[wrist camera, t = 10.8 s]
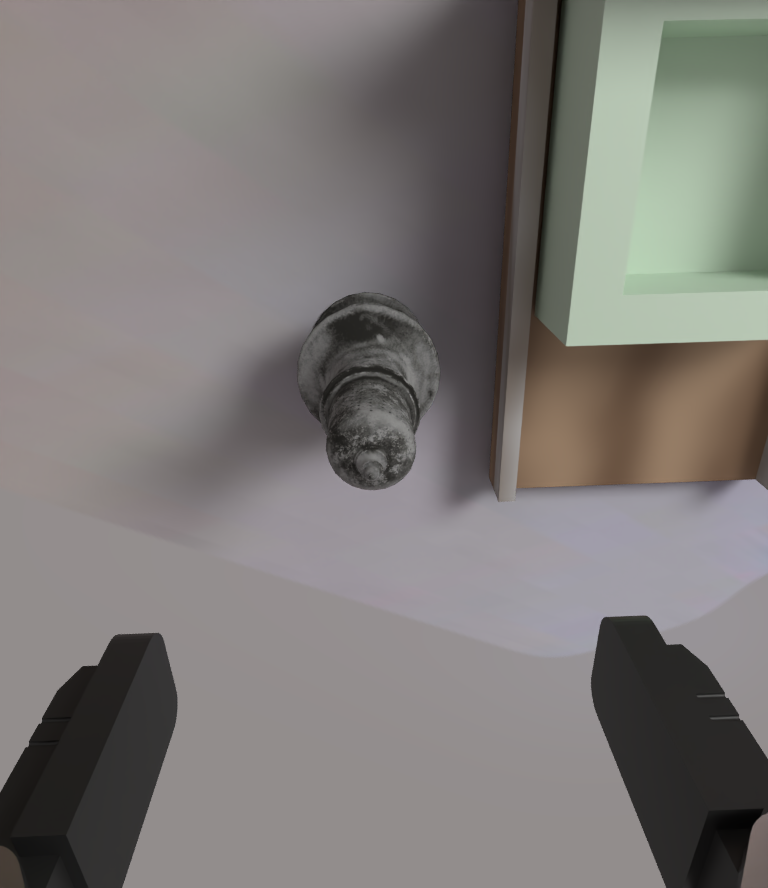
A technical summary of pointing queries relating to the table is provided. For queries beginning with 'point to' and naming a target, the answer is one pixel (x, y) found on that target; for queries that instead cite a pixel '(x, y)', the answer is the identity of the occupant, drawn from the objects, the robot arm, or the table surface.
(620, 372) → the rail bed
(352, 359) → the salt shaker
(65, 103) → the table surface
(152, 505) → the table surface
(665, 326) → the slider block
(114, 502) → the table surface
